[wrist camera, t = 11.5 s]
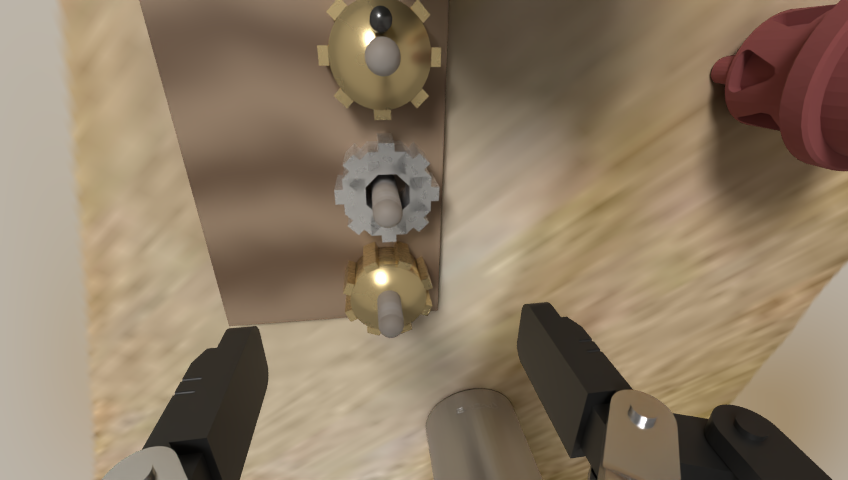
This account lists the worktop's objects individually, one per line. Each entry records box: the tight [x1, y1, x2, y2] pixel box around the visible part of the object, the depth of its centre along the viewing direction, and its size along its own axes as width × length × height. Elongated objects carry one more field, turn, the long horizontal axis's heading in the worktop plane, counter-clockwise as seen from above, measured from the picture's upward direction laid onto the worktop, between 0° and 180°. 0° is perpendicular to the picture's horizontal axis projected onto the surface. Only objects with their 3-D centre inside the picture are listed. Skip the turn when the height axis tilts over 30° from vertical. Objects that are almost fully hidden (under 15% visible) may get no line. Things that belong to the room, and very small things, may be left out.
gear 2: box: [343, 241, 433, 335], centre depth 27 cm, size 6×6×3 cm
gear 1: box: [317, 0, 441, 120], centre depth 19 cm, size 6×6×5 cm
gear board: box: [139, 0, 449, 338], centre depth 22 cm, size 22×16×7 cm
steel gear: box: [334, 133, 439, 242], centre depth 24 cm, size 6×6×3 cm
